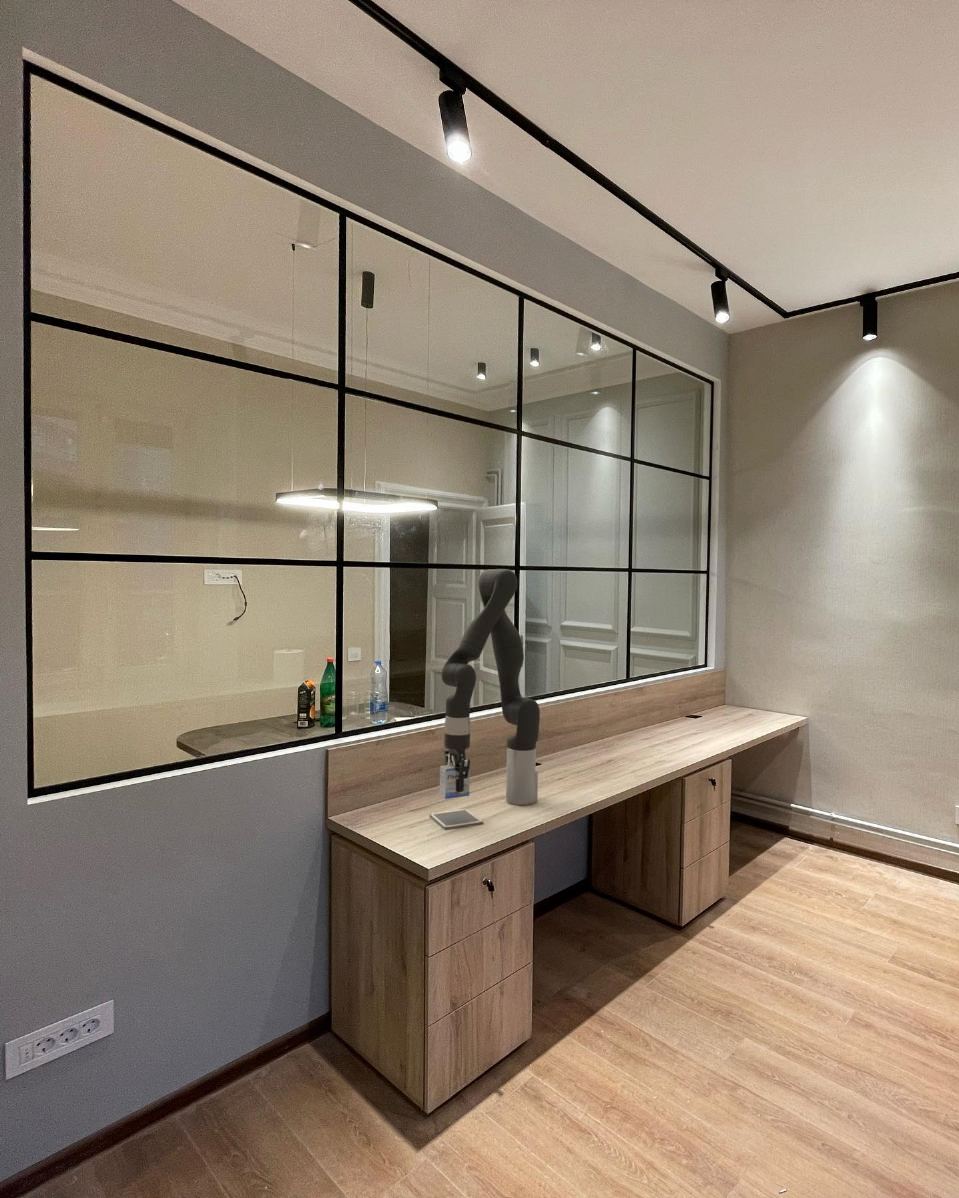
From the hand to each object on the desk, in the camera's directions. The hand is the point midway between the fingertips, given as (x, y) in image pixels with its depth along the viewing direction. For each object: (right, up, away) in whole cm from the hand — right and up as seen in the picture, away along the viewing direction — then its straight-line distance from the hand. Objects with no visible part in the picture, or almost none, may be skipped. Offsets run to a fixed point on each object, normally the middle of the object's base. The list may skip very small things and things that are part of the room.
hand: (456, 788), depth 200 cm
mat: (0, -9, 0) cm, 9 cm away
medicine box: (-1, -2, 0) cm, 2 cm away
